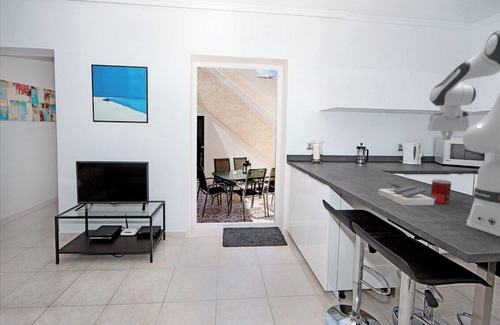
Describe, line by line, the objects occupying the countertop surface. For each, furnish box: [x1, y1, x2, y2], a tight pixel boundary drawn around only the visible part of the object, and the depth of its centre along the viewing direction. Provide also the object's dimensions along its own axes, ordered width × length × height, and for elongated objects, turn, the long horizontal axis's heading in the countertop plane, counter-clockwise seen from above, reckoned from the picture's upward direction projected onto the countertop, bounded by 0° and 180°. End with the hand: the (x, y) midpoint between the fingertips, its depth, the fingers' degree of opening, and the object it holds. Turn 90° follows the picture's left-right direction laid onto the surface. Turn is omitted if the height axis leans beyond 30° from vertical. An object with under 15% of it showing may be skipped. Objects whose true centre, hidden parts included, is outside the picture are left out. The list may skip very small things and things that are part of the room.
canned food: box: [430, 179, 452, 205], centre depth 145 cm, size 8×8×11 cm
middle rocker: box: [393, 184, 417, 194], centre depth 149 cm, size 4×10×1 cm, turn 96°
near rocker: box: [401, 187, 427, 198], centre depth 142 cm, size 4×10×1 cm, turn 96°
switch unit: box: [377, 188, 435, 206], centre depth 150 cm, size 22×16×3 cm
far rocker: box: [386, 181, 402, 189], centre depth 156 cm, size 4×10×1 cm, turn 96°
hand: (446, 139), depth 150 cm, fingers closed
